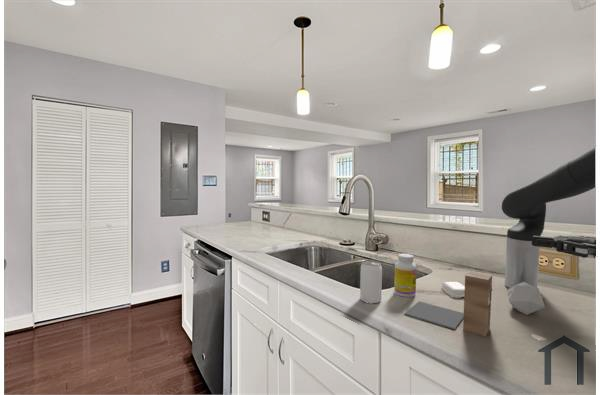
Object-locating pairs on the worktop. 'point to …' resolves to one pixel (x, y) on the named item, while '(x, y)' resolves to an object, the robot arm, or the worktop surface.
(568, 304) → the worktop surface
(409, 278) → the supplement bottle
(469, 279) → the brown wooden block
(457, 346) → the worktop surface
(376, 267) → the can
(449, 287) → the soap
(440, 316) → the mat
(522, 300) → the die
